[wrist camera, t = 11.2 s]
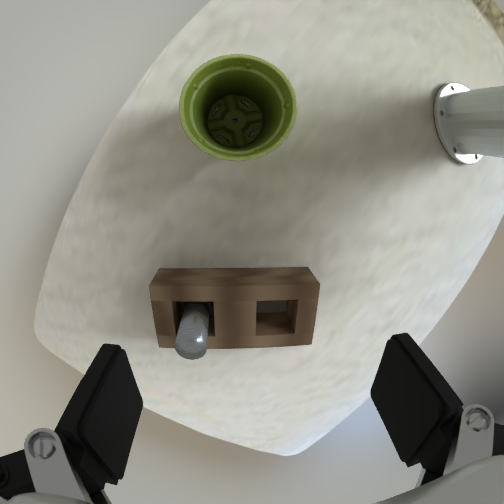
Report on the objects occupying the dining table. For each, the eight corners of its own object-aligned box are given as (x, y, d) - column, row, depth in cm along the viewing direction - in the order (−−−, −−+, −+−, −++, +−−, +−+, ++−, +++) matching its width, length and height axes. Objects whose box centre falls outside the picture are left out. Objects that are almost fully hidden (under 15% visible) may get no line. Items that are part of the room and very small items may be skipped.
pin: (210, 287, 34) (205, 334, 24) (211, 309, 35) (207, 359, 25) (186, 287, 34) (172, 334, 24) (188, 309, 34) (176, 359, 25)
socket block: (307, 267, 34) (320, 283, 29) (301, 322, 36) (311, 344, 32) (159, 268, 33) (149, 285, 28) (166, 324, 35) (159, 347, 30)
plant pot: (220, 68, 26) (217, 37, 18) (293, 107, 28) (316, 89, 20) (176, 137, 28) (157, 128, 20) (251, 177, 30) (260, 182, 22)
